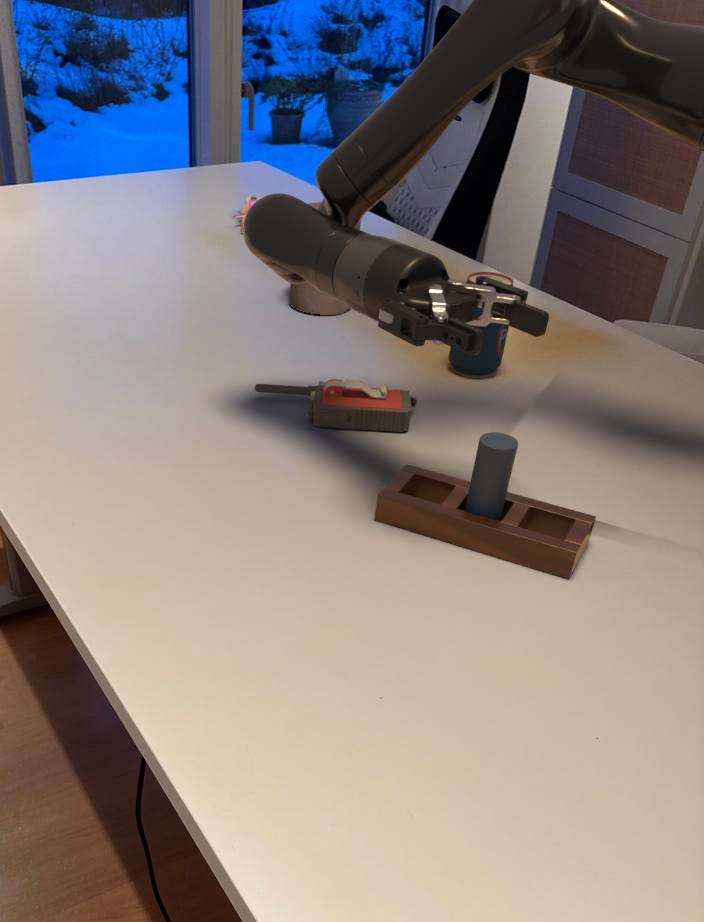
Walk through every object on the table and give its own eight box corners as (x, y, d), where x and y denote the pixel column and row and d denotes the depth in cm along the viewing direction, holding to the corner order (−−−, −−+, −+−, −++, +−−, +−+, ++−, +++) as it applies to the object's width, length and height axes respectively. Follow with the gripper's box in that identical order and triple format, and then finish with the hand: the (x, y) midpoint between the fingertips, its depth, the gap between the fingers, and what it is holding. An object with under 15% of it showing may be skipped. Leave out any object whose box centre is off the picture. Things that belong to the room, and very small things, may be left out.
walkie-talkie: (413, 403, 120) (254, 394, 121) (418, 370, 117) (256, 360, 118) (418, 435, 113) (249, 424, 114) (424, 400, 110) (251, 389, 111)
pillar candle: (280, 297, 149) (286, 194, 140) (337, 292, 152) (347, 190, 142) (303, 319, 142) (311, 212, 133) (362, 313, 145) (375, 207, 135)
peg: (501, 527, 97) (523, 438, 91) (490, 544, 95) (511, 452, 88) (467, 517, 98) (486, 428, 92) (455, 533, 96) (474, 443, 90)
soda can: (505, 379, 126) (525, 288, 119) (454, 379, 126) (471, 287, 118) (490, 359, 132) (509, 270, 124) (441, 359, 131) (456, 270, 124)
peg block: (402, 488, 103) (406, 463, 101) (588, 542, 95) (596, 516, 93) (374, 520, 98) (377, 494, 96) (568, 579, 90) (577, 552, 88)
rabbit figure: (265, 243, 176) (273, 207, 186) (266, 210, 172) (275, 176, 182) (232, 240, 176) (241, 205, 186) (232, 208, 172) (242, 174, 182)
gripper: (337, 254, 89) (464, 307, 79) (446, 232, 96) (576, 278, 86) (330, 333, 94) (448, 392, 84) (434, 307, 101) (555, 359, 90)
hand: (512, 334), depth 85 cm, fingers open, 8 cm apart
